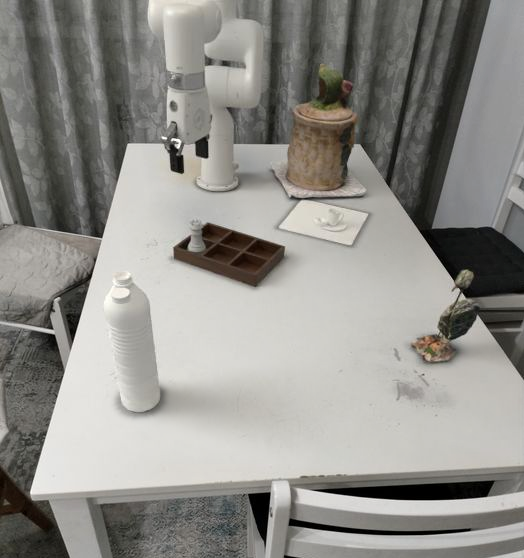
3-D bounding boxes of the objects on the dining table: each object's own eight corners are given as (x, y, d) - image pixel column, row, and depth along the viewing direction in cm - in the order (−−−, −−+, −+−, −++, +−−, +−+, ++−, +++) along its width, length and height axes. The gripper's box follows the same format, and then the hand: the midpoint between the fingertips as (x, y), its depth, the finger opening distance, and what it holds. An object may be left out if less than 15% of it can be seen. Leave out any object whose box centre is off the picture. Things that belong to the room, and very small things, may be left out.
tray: (207, 233, 129) (207, 222, 127) (284, 257, 122) (285, 246, 120) (173, 258, 119) (173, 247, 117) (255, 287, 112) (255, 275, 110)
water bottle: (122, 386, 87) (99, 262, 71) (160, 383, 88) (146, 261, 72) (119, 425, 81) (93, 299, 64) (160, 421, 82) (145, 297, 65)
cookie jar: (288, 200, 145) (300, 77, 124) (268, 168, 163) (275, 56, 142) (368, 196, 150) (391, 78, 129) (339, 165, 168) (356, 57, 147)
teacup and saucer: (310, 227, 134) (312, 213, 131) (319, 215, 140) (321, 201, 137) (342, 235, 132) (344, 220, 129) (349, 222, 138) (352, 208, 135)
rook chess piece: (209, 250, 121) (208, 219, 116) (201, 259, 118) (200, 228, 113) (192, 246, 122) (191, 216, 117) (184, 255, 119) (182, 224, 114)
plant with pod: (473, 360, 97) (513, 273, 84) (419, 365, 95) (452, 277, 82) (454, 334, 103) (488, 248, 90) (403, 338, 101) (430, 251, 88)
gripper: (176, 93, 92) (182, 182, 104) (224, 73, 104) (224, 155, 115) (143, 86, 94) (152, 174, 106) (194, 67, 106) (197, 148, 118)
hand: (190, 164), depth 111 cm, fingers open, 9 cm apart
